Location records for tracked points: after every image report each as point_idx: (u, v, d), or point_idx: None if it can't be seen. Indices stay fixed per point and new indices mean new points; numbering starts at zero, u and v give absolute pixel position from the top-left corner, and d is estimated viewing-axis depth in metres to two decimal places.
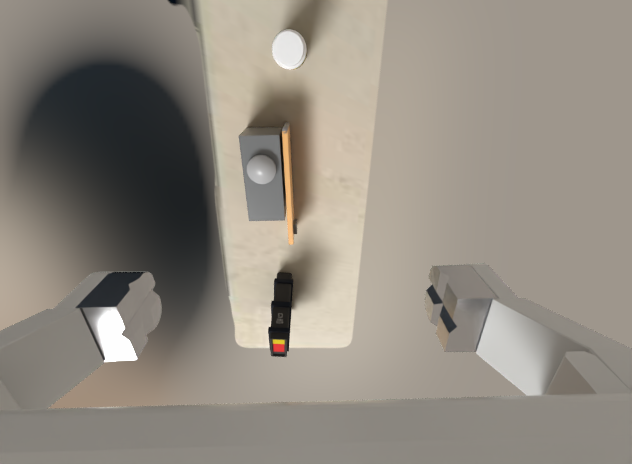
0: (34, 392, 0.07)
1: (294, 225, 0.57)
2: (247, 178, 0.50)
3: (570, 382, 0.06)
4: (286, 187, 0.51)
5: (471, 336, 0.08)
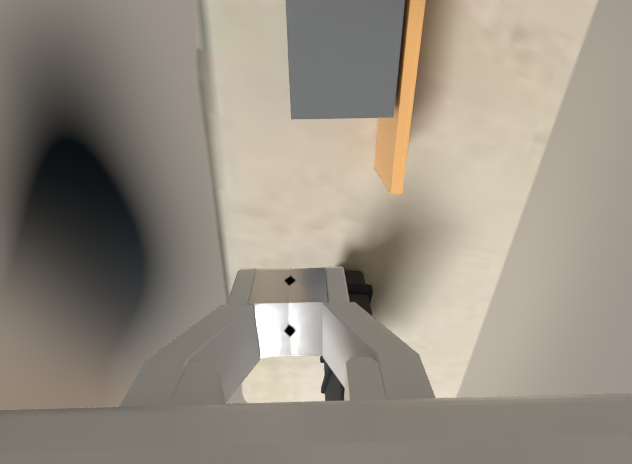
0: None
1: None
2: None
3: (347, 388, 0.06)
4: (413, 1, 0.16)
5: (313, 340, 0.08)
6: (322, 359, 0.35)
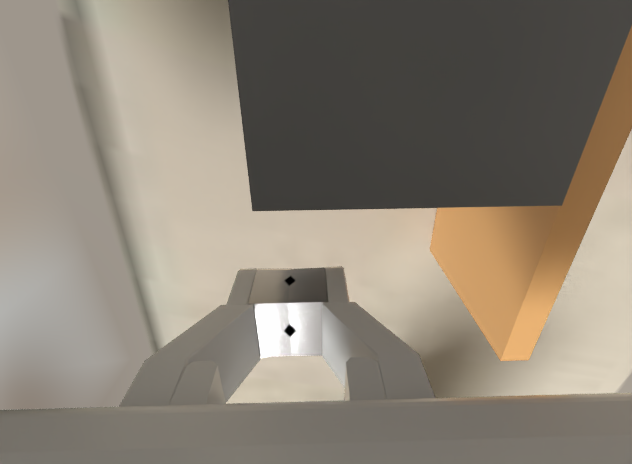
0: None
1: None
2: None
3: (348, 388, 0.06)
4: None
5: (313, 340, 0.08)
6: None
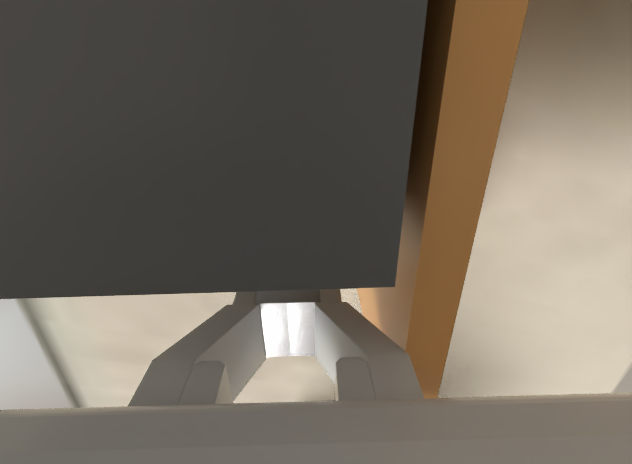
0: None
1: None
2: None
3: None
4: None
5: (305, 340, 0.08)
6: None
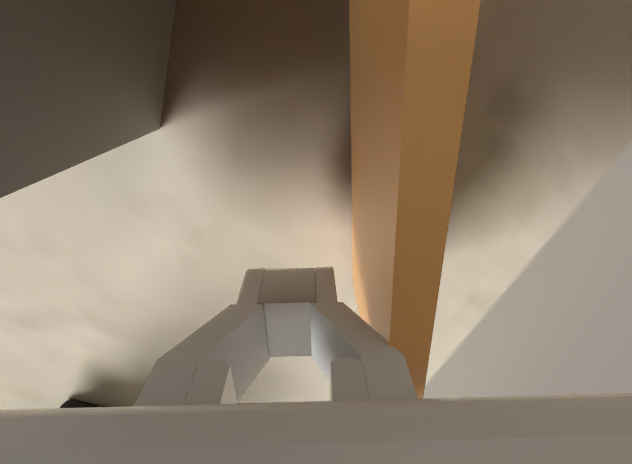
0: None
1: None
2: None
3: None
4: None
5: (301, 340, 0.08)
6: None
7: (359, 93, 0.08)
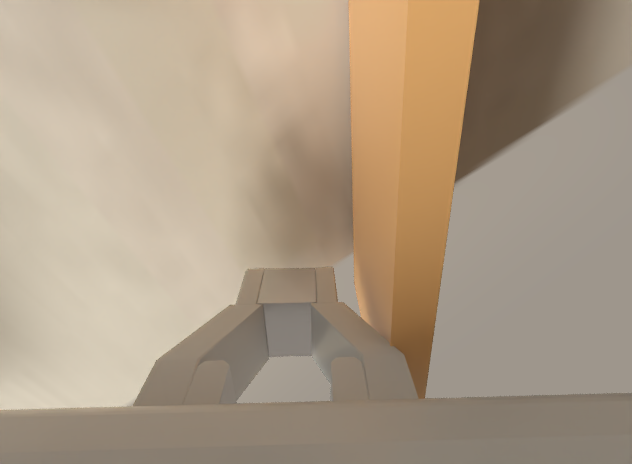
0: None
1: None
2: None
3: None
4: None
5: (302, 340, 0.08)
6: None
7: (359, 93, 0.08)
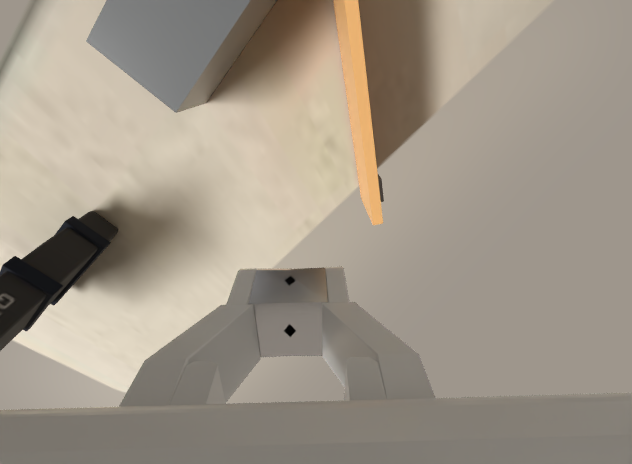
0: None
1: None
2: None
3: (348, 388, 0.06)
4: (357, 80, 0.21)
5: (313, 340, 0.08)
6: None
7: (353, 125, 0.26)
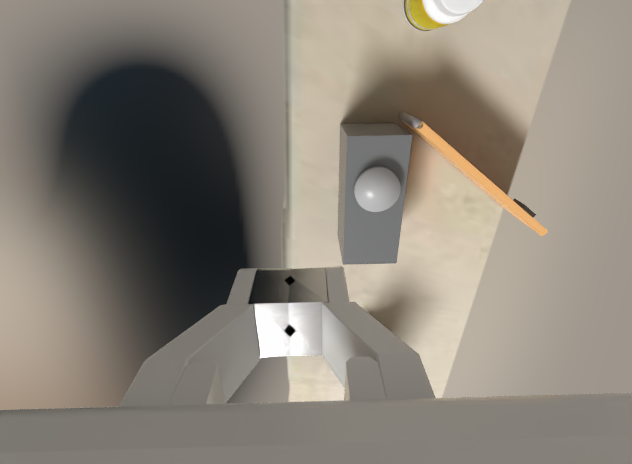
0: None
1: (523, 208, 0.36)
2: (350, 202, 0.32)
3: (347, 388, 0.06)
4: (480, 180, 0.32)
5: (313, 340, 0.08)
6: None
7: (481, 187, 0.36)
